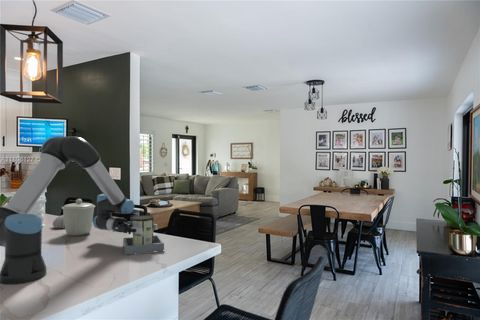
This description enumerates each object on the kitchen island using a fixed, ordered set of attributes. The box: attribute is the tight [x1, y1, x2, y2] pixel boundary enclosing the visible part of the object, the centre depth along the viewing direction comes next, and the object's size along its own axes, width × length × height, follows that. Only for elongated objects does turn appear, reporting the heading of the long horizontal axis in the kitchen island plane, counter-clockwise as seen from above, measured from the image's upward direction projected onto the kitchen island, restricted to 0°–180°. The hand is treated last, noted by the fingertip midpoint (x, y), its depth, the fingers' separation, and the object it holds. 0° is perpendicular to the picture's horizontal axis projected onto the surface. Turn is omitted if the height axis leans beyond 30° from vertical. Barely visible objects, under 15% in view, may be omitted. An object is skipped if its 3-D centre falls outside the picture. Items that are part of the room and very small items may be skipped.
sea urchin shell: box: [52, 214, 65, 229], centre depth 213 cm, size 13×14×8 cm
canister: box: [61, 198, 96, 237], centre depth 194 cm, size 18×18×21 cm
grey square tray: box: [122, 234, 165, 256], centre depth 164 cm, size 18×18×4 cm
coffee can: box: [132, 214, 155, 246], centre depth 164 cm, size 10×10×14 cm
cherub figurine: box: [28, 195, 47, 228], centre depth 212 cm, size 12×12×22 cm
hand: (149, 229), depth 162 cm, fingers closed on coffee can, 10 cm apart
